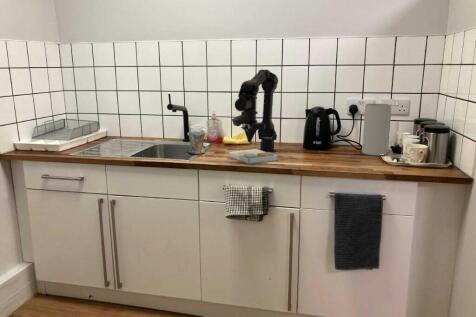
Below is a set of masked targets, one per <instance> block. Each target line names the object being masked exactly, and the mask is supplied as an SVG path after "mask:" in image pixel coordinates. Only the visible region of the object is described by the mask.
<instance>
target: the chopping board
mask: <svg viewBox="0 0 476 317" xmlns="http://www.w3.org/2000/svg"><path fill="white" fill-rule="evenodd" d="M258 153H264V151H261V150H259V149H258V148H252V149H245V150H235V151H229V152H228V156H229V157H231V158H234V159H235V160H238V161H240V160H239V155H241V156H244V155H245V154H255V155H257V156H258Z"/></svg>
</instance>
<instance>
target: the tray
mask: <svg viewBox="0 0 476 317" xmlns="http://www.w3.org/2000/svg"><path fill="white" fill-rule="evenodd" d="M267 153H270V154H272V156H266V157H258V158H250V159H249V158H246V157H244V156H241V155H239V160H238V161H240V162H242V163H245V164H247V165H254V164H261V163H269V162H275V161H278V158H279V155H278V154H275V153H272V152H267Z"/></svg>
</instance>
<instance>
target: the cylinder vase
mask: <svg viewBox="0 0 476 317" xmlns="http://www.w3.org/2000/svg"><path fill="white" fill-rule="evenodd" d="M392 106H393V105H392V104H388V103H365V104H364V116H363V130H362V133H363V134H362V146H361V152H362V154H364V155H368V156H376V157H377V156H378V157H379V156H380V154H385V153H387V154H388V150H389V138H390V128H391V117H392V116H391V115H392ZM380 157H381V156H380Z"/></svg>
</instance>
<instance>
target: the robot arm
mask: <svg viewBox="0 0 476 317" xmlns="http://www.w3.org/2000/svg"><path fill="white" fill-rule="evenodd" d="M278 83H279V78H278V76H277V74H275V73H273V72H272V71H270V70H268V69H260V70H258V72H257V73H256V74H255V75H254V76H253V77H252V78H251V79H248V80H245V81H242V83H241V85H240V89H239V92H238V94H237V95H238V96H237V97H238V98H237V99H236V100H235V102H234V109H235V110H236V111H238V112H241V113H240V114H239V115H237V116H235V117H233V118H231V121H232V124H233V126H234V127H235V126H236V127H240V128H241V129H242V130H243V131H244V133H245V137H246V140H247V142H248V143H251V142H252V141H253V138H254V136H255V134H256V133H257V137H258V140H260V144H259V145H260V146H259V149H258V150H261V151H264V152H270V153H272V152H275V151H276V149H275V141H277V139H278V135H277V134H278V133H277V132H276V129H275V125H274V122H273V120H272V119H273V105H274V104H273V102H274V101H273V100H274V93H275V91H276V90H277V88H278ZM260 86H261V88H262V91H263V105H262V108H263V109H262V120H261V121H258V120H257V119H256V117H257V115H258V111H257V109H256V108H257V99H258V97H257V95H258V93H259V91H260Z"/></svg>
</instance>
